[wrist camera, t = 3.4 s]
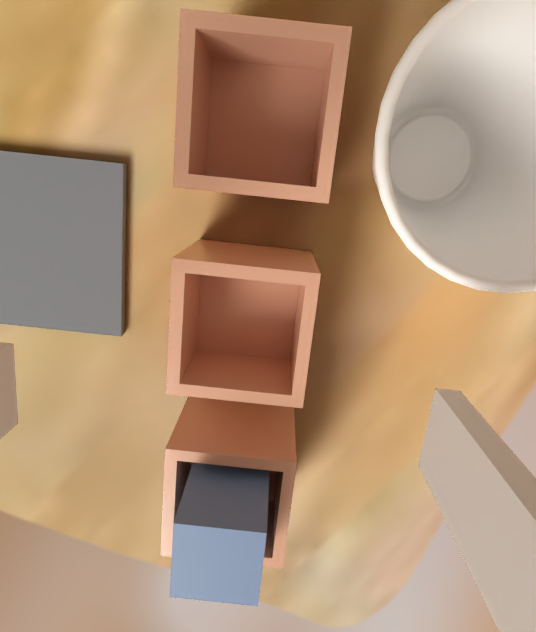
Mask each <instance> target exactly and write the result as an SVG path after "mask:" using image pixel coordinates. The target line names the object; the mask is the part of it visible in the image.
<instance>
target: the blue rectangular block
mask: <svg viewBox="0 0 536 632" xmlns="http://www.w3.org/2000/svg"><path fill="white" fill-rule="evenodd" d="M269 471H270V470H260V469H251V468H241V467H232V466H222V465H213V464H203V463H194V462H193V464H192V467H191V470H190V473H189V476H188V479H187V482H186V485H185V489H184V492H183V495H182V498H181V501H180V504H179V507H178V510H177V514H176V517H175V520H174V523H173V540H172V559H171V580H170V597H175V598H184V599H193V600H203V601H212V602H221V603H231V604H240V605H251V606H258V602H259V593H260V585H261V577H262V569H263V561H264V552H265V544H266V536H267V517H268V494H269Z"/></svg>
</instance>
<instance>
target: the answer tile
mask: <svg viewBox="0 0 536 632" xmlns="http://www.w3.org/2000/svg"><path fill="white" fill-rule="evenodd" d="M126 184H127V164H122V163H113V162H104V161H94V160H85V159H75V158H66V157H56V156H47V155H37V154H28V153H18V152H9V151H0V324H8V325H18V326H27V327H37V328H46V329H56V330H65V331H75V332H84V333H94V334H103V335H113V336H122V335H123V334H124V327H125V255H126Z"/></svg>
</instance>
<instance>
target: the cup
mask: <svg viewBox="0 0 536 632" xmlns="http://www.w3.org/2000/svg"><path fill="white" fill-rule="evenodd" d="M372 171H373V176H374V181H375V183H376V185H377V188H378V190H379V194H380V198H381V201H382V203H383V206H384V208H385V211H386V213H387V215H388V218H389V220H390V223H391V225H392V226H393V228H394V229H395V231H396V232H397V234H398V235H399V237H400V238H401V239H402V241H403V242H404V244H405V245H406V247H407V248H408V249H409V250H410V251H411V252H412V253H413V254H414V255H415V256H416V257H418V258H419V259H420V260H421V261H422V262H423V263H424V264H425V265H426V266H427V267H429V268H430V269H432V270H434V271H435V272H437V273H439V274H440V275H442V276H444V277H445V278H447V279H449V280H451V281H453V282H456V283H459V284H462V285H465V286H468V287H471V288H473V289H477V290H484V291H492V292H499V293H516V292H533V291H536V0H450V1H449V2H448V3H447V4H446V5H444V6H443V7H442V8H441V9H439V10H438V11H437V12H436V13H435V14H434V15H433V16H432V17H431V18H430V19H429V21H428V22H427V23H426V24H425V25H424V26H423V28H422V29H421V30H420V31H419V32H418V33H417V35H416V36H415V37H414V38H413V39H412V40H411V42H410V44H409V45H408V47H407V49H406V50H405V52H404V54H403V55H402V57H401V59H400V60H399V62H398V64H397V66H396V67H395V69H394V71H393V73H392V75H391V78H390V81H389V83H388V86H387V88H386V91H385V94H384V96H383V99H382V102H381V105H380V110H379V116H378V121H377V126H376V132H375V145H374V149H373V155H372Z"/></svg>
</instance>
